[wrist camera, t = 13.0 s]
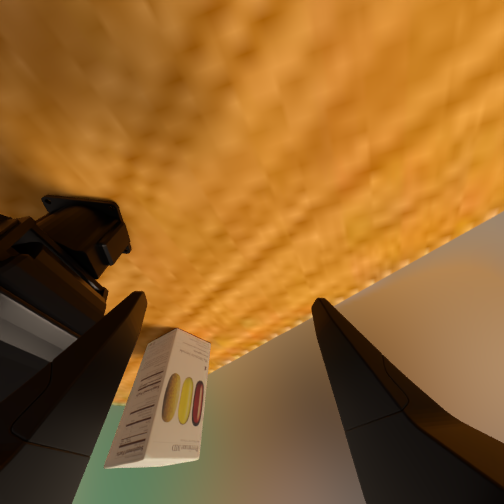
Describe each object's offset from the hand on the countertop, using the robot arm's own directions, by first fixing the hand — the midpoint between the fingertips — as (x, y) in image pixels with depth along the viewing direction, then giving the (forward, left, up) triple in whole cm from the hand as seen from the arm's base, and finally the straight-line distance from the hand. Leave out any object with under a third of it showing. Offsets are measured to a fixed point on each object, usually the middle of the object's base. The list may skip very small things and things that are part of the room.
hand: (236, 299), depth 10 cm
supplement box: (-8, -33, -13) cm, 36 cm away
